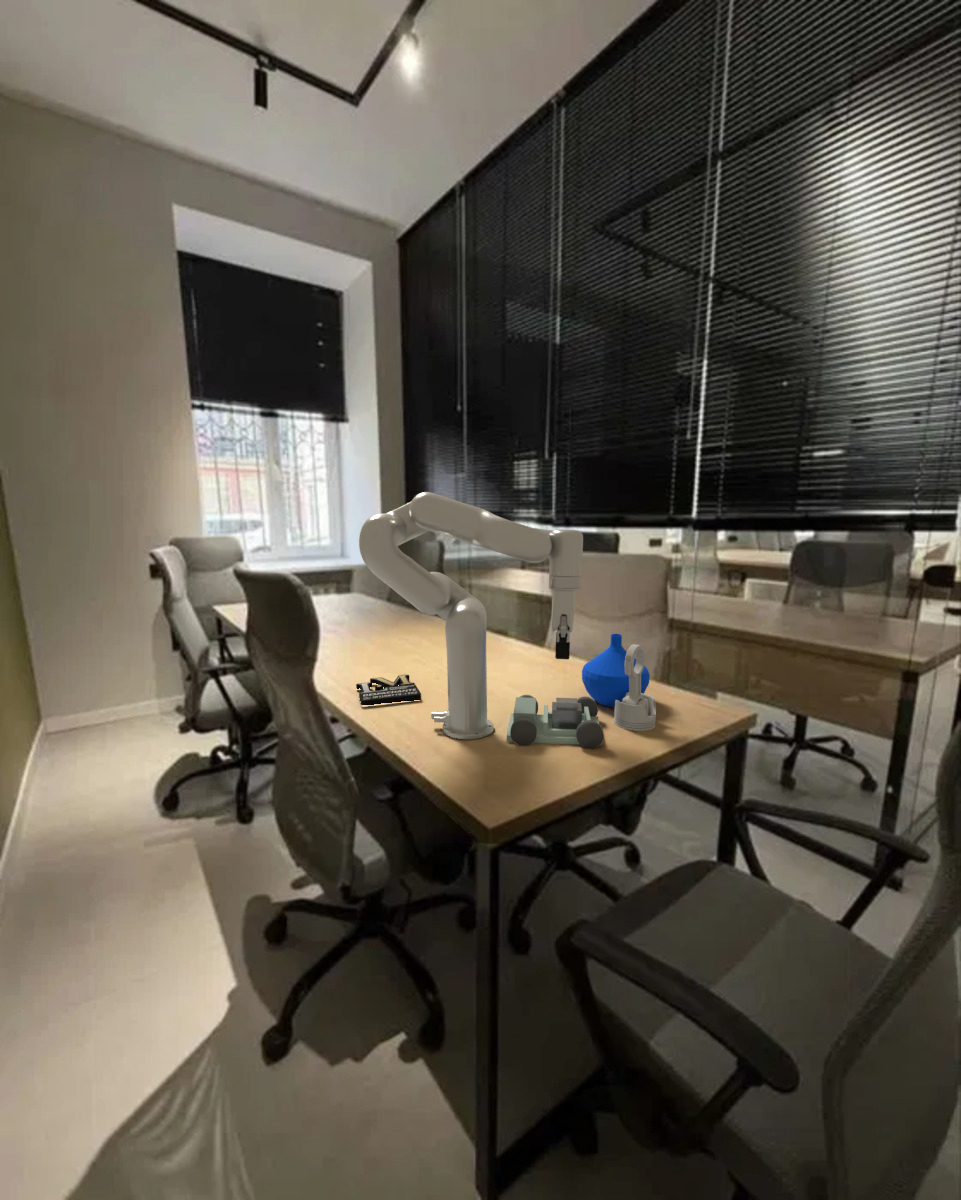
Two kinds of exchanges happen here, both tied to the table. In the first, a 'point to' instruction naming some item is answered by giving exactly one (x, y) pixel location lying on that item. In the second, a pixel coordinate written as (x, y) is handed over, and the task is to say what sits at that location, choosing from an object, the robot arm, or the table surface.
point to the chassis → (539, 727)
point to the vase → (610, 674)
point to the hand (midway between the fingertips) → (562, 653)
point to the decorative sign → (388, 691)
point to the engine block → (566, 713)
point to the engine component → (635, 696)
